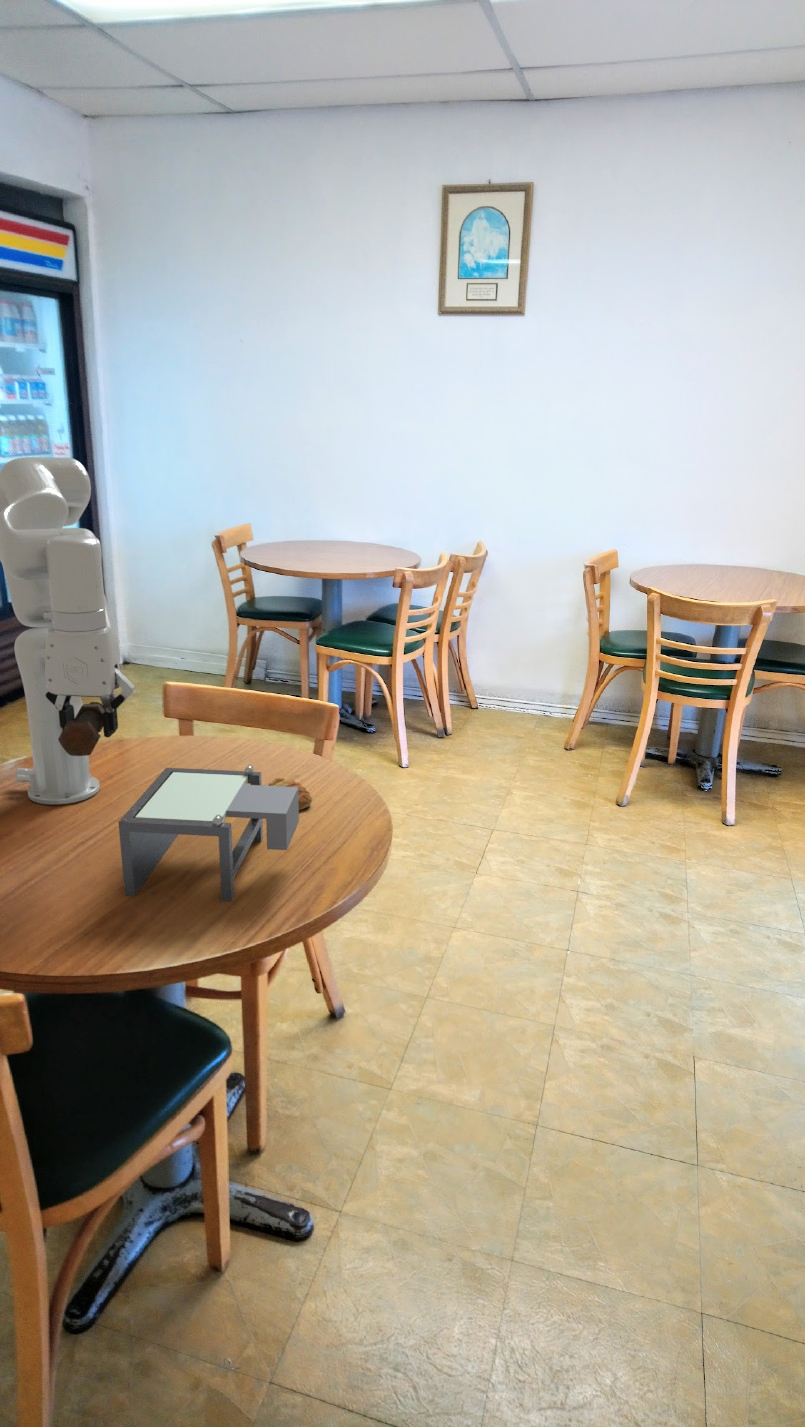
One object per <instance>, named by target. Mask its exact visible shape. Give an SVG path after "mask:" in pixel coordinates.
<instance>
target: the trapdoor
mask: <svg viewBox="0 0 805 1427" xmlns="http://www.w3.org/2000/svg"><path fill="white" fill-rule="evenodd" d="M247 782H248V776H243V775H222V774H201V773H180V772H173V773H172V774H171V775H170V777H169V778H168V779H167V780H166V781H165V783H164V784H163V785H162V786H161V787H160V788H159V790H158V791H157V792H156V793H155V794H154V796H153V797H152V798H151V799H150V800H149V801H148V803H147V804H146V805H145V806H144V807H143V809H142V810H141V811H140V812H139V813H138V814H137V816H136V817H135V818H144V819H164V820H183V821H202V822H212V820H213V819H214V817H215V816H216V815H221V816H222V817H223V820H222V823H225V822H224V821H225V820H226V818H238V819H239V818H242V819H243V818H245V819H251V818H258V819H263V820H266V821H265V823H266V824H265V825H266V850H275V851H276V850H277V851H288V849H289V846H290V844H291V841H292V839H293V837H294V834H295V832H296V829H297V828H298V825H299V822H300V816H299V814H300V813H299V811H300V810H299V798H298V787H282V786H268V785H250V784H248V783H247Z"/></svg>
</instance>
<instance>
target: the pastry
mask: <svg viewBox="0 0 805 1427" xmlns="http://www.w3.org/2000/svg"><path fill="white" fill-rule="evenodd" d="M267 786H282V787H298V798H299V811H301V810H304V809H306V808H308V807H310V806H311V803H312V801H313V798H312V796H311V794H310V792H309V791H308V790H307V789H306V787H304V786H302V785H301V784H300V782H296V781H295V780H293V779H288V780H287V779H286V778H285V777H277V778H274V779H273V780H272V781H271V782H269V784H267Z"/></svg>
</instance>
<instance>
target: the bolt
mask: <svg viewBox="0 0 805 1427" xmlns="http://www.w3.org/2000/svg"><path fill="white" fill-rule="evenodd" d="M104 712H105V708H104V706H103V704H102V702H99V701H91V702H89V703H83V705H82V706H81V708H80V710H79V712H78V714H77V716H76V717H75V719H74V720H75V721H68V722H67V724H66V726H65V727H64V729H63V731H62V733H61V735H60V737H59V739H58V740H59V742H60V744H61V745H62V747H63V748H64V750H65V751H66V752H67V753H68V754H69V755H71V756H86V755H88V756H91V755H92V753H93V752H94V749H95V747H96V746H97V744H98V742H99V740H100V738H101V734H100V732H102V730H103V718H102V714H103V713H104Z"/></svg>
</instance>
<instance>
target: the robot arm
mask: <svg viewBox="0 0 805 1427" xmlns="http://www.w3.org/2000/svg"><path fill="white" fill-rule="evenodd" d="M91 486H92V485H91V479H90V476H89V472H88V471H87V470H86V467H85V466H84V464H82V463H81V462H80V461H79V460H77V459H75V458H72V457H53V456H52V457H41V456H39V457H36V456H35V457H34V456H32V457H29V456H28V457H25V456H24V457H17V458H14V459H11V460H10V461H8V462H6V463H5V464H4V465H3V466H2V467H1V469H0V563H1V565H2V568H3V572H4V577H5V581H6V586H7V591H8V594H9V599H10V601H11V606H12V609H13V613H14V615H15V617H16V618H17V621H18V622H20V624H22V625H23V626H24V627H25V626H26V627H30V629H26V630H25V631H23V632H21V633H20V634H19V635H18V636H17V637H16V639H15V640H14V641H15V642H14V655H15V660H16V663H17V667H18V670H19V674H20V677H21V681H22V686H23V690H24V691H23V692H24V697H25V702H26V703H25V704H26V711H27V719H28V727H29V737H30V744H31V754H32V762H33V768H28V767H27V768H26V767H18V768H16V771H15V779H16V780H15V781H16V782H17V783H28V784H30V786H29V787H28V789H27V796H28V798H29V800H31V801H33V802H35V803H37V804H39V805H40V804H41V805H50V806H52V805H56V806H57V805H69V804H74V803H78V802H82V801H84V800H87V799H89V798H91V797H93V796H95V795H96V794H97V793H98V792H99V790H100V788H101V785H100V781H99V779H98V778H96V777H94V776H92V775H91V774H90V772H91V771H90V763H89V762H90V761H89V755H86V756H71V755H69V754H68V753H67V752H66V751H65V750H64V748H63V747H62V745H61V744H60V742H59V740H58V739H59V737H60V735H61V733H62V731H63V729H64V727H65V726H66V724H67V722H68V721H75V720H74V719H75V717H76V716H77V714H78V712H79V710H80V708H81V706H82V705H83V704H84V703H83V700H82V698H83V697H84V698H99V700H100V703H101V704H102V705H103V706H104V708H105V712H104V713H103V714H102V718H103V728H102V730H103V737H104V738H110V737H111V736H113V735H114V734H115V733H116V732H117V731H118V728H119V721H118V708H120V706H121V705H122V704H123V703H124V702H125V701H126V700H127V699H128V698H129V697H130V696H132V694H133V693H135V692H136V690H137V688H136V686H135V685H134V684H133V683H132V682H131V681H130V680H129V679H128V678H127V677H126V676H125V675H124V674H123V673H122V672H121V668H120V659H121V653H120V651H121V650H120V646H119V645H120V644H119V641H118V636H117V634H116V629H115V625H114V622H113V619H112V616H111V612H110V607H109V605H108V601H107V598H106V595H105V590H104V589H105V588H104V579H103V578H104V577H103V564H102V562H103V561H102V558H103V555H102V553H103V552H102V547H101V546H102V545H101V543H100V540H99V538H98V537H96V535H95V534H94V533H93V531H91V530H89V529H87V528H84V527H69V526H73V525H75V524H76V523H78V521H79V520H80V518H81V517H82V515H83V513H84V511H85V510H86V508H87V507H88V504H89V502H90V500H91V494H92V493H91V492H92V487H91ZM119 688H120V689H121V692H120V693H119V694H117V695H116V693H115V690H116V689H119Z"/></svg>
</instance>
